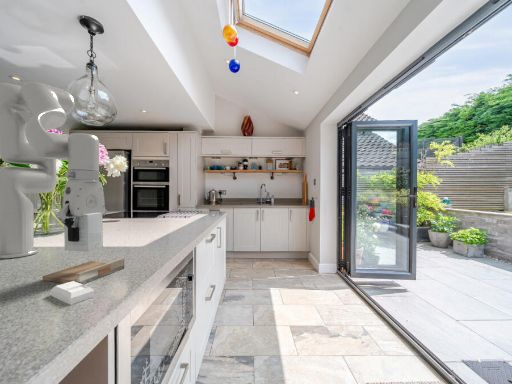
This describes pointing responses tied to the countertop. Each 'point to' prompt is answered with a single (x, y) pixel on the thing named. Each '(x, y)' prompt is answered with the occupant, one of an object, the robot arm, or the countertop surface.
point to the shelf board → (85, 272)
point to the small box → (86, 233)
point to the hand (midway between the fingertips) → (84, 238)
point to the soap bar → (72, 292)
